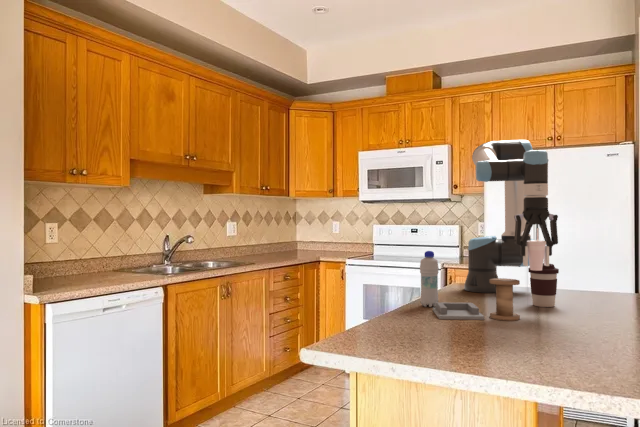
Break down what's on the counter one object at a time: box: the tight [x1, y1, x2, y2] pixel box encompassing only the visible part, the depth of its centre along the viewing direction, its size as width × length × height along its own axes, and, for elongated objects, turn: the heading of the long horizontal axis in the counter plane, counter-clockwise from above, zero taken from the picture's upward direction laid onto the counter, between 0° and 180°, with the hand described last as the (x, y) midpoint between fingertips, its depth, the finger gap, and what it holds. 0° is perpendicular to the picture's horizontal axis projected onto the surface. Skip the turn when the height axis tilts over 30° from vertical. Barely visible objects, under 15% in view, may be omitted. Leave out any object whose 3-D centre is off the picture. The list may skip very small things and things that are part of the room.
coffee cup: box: [528, 262, 560, 308], centre depth 176 cm, size 10×10×15 cm
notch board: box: [432, 301, 486, 321], centre depth 161 cm, size 14×14×3 cm
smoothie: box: [526, 227, 546, 271], centre depth 164 cm, size 6×6×14 cm
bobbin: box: [489, 277, 521, 322], centre depth 156 cm, size 9×9×12 cm
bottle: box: [419, 250, 439, 308], centre depth 177 cm, size 7×7×20 cm
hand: (536, 265), depth 164 cm, fingers closed on smoothie, 6 cm apart
